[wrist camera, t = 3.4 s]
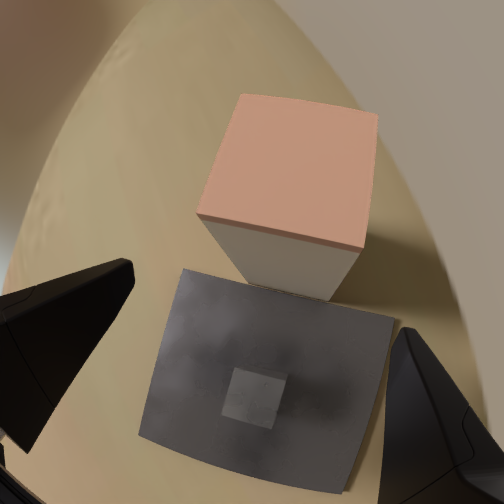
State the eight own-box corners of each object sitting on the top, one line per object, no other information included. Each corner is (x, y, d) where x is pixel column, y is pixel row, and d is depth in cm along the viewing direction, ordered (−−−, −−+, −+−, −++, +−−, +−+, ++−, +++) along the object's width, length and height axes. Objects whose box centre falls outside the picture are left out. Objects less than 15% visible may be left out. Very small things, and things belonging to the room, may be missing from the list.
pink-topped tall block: (328, 301, 21) (363, 248, 9) (248, 283, 22) (195, 212, 11) (343, 225, 22) (378, 114, 11) (268, 210, 23) (241, 93, 12)
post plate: (340, 491, 17) (348, 521, 12) (141, 433, 20) (109, 447, 15) (392, 318, 20) (415, 310, 15) (186, 270, 23) (161, 252, 18)
